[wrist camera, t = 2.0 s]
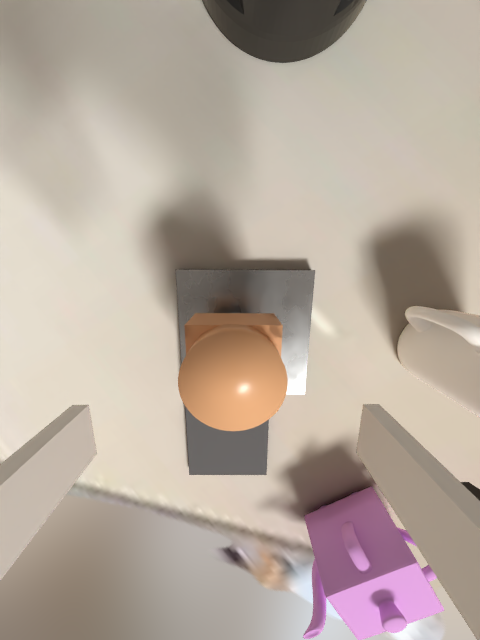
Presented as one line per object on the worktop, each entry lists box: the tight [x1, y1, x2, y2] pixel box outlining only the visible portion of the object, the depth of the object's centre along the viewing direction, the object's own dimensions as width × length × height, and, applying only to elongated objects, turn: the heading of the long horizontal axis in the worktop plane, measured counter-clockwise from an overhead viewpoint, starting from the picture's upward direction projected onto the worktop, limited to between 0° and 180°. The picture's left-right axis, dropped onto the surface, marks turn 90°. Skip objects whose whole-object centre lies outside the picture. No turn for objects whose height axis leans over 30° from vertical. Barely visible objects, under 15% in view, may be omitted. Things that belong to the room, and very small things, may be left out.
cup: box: [397, 306, 480, 417], centre depth 20 cm, size 8×12×10 cm
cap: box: [178, 313, 288, 431], centre depth 17 cm, size 7×7×6 cm
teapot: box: [303, 486, 444, 640], centre depth 27 cm, size 18×14×10 cm
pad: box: [185, 407, 269, 475], centre depth 28 cm, size 10×10×1 cm
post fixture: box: [176, 270, 315, 394], centre depth 21 cm, size 14×14×9 cm
